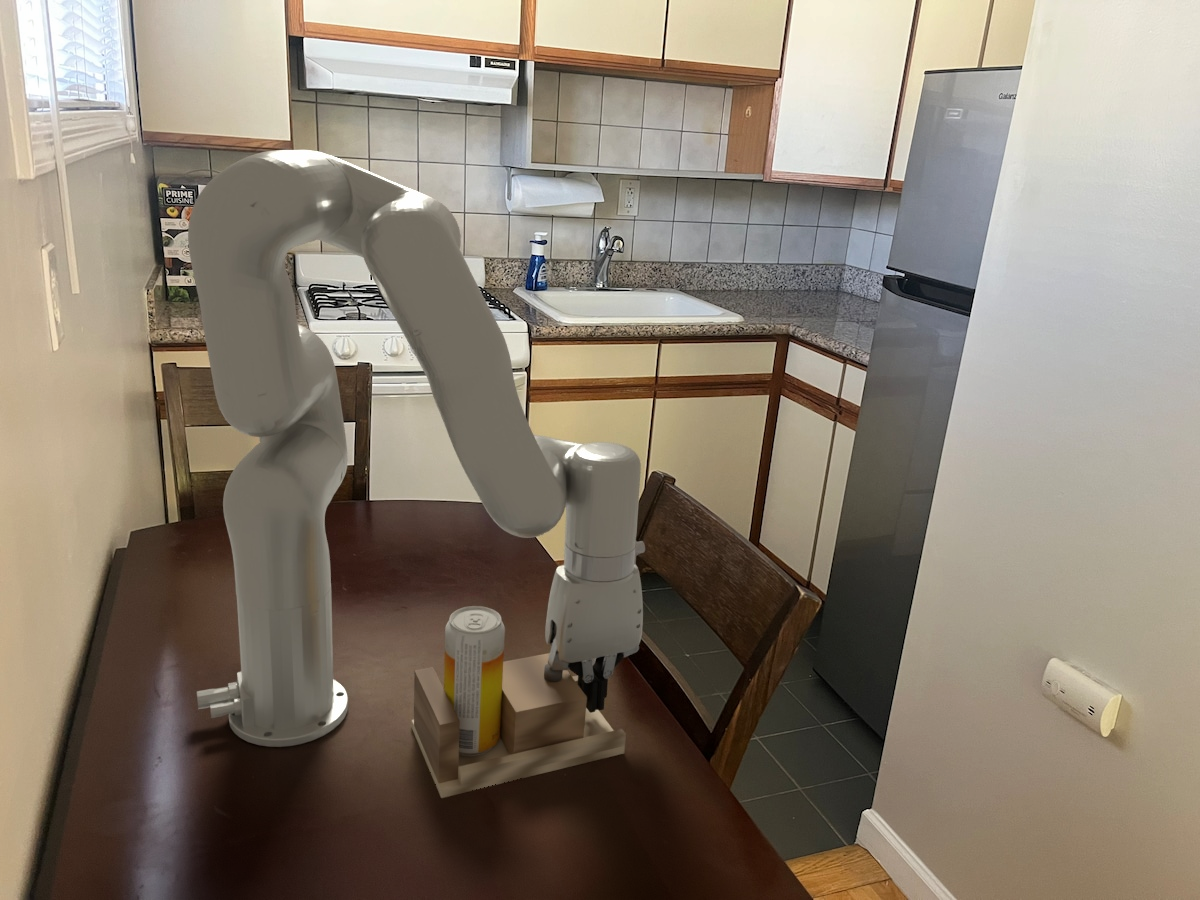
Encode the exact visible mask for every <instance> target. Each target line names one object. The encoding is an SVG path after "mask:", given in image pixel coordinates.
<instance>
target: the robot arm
mask: <svg viewBox="0 0 1200 900" xmlns="http://www.w3.org/2000/svg"><path fill="white" fill-rule="evenodd" d="M187 232H188V233H187V239H188V240H187V242H188V252H189V257H190V259H189V260H190V264H191V269H192V272H193V278H194V283H195V287H196V293H197V296H198V302H199V306H200V307H199V308H200V315H201V323H202V329H203V334H204V339H205V344H206V349H207V355H208V356H207V357H208V361H209V366H210V373H211V378H212V382H213V383H212V384H213V388H214V395H215V398H216V402H217V405H218V409H219V411H220V413H221V414H222V416H223V417H224V420H225V421H226V422H227V423H228V424H229V425H230V426H231V427H232V428H233V429H235V430H237V432H239V433H241V434H243V435H247V436H249V437H253V438H255V437H256V438H258V440H259V443H257V444H256V445H254V446H253V448H251V450H250V451H249V452H248V453H247V454H245V456H244V457H243V458H242V459H241V460H240V461H239V462H238V463H237V465H236V466H235V467H234V469H233V470H232V472H231V474H230V476H229V477H228V480H227V483H226V485H225V489H224V492H223V499H222V500H223V501H222V506H223V509H222V510H223V517H224V521H225V526H226V529H227V534H228V538H229V542H230V546H231V553H232V560H233V569H234V581H235V582H234V583H235V595H236V606H237V624H238V639H239V655H240V656H239V657H240V671H238V672H237V673H236V675H237V681H234V682H229V683H227V686H224V687H218V688H209V689H203V690H196V697H197V698H196V699H197V708H198V709H197V710H202V709H203V710H204V709H207V708H210V718H211V719H215V718H218V717H224V716H225V715H226V716H228V722H229V727H230V729H231V730H232V732H233V733H234V734H235V735H236V736H237V737H238V738H240V739H242V740H244V741H246V742H247V743H251V744H254V745H257V746H263V747H269V748H270V747H271V748H273V747H274V748H275V747H276V748H282V747H293V746H298V745H302V744H306V743H309V742H312V741H314V740H317V739H320V738H321V737H323V736H325V735H327V734H328V733H330V732H331V731H333V730H334V729H335V728H337V726H339V725H340V724H341V723H342V722H343V720H344V719H345V718H346V715H347V713H348V710H349V696H348V693H347V690H346V688H345V687H344V686H343V685H342V684H341V683H340V682H338V681H337V680H336V679H334V656H333V655H334V654H333V651H334V648H333V612H332V611H333V610H332V609H333V608H332V605H333V604H332V603H333V602H332V583H331V582H332V581H331V577H332V575H331V572H332V571H331V560H330V559H331V557H330V549H329V543H328V540H327V539H328V538H327V534H326V525H325V524H326V523H325V522H326V521H325V517H326V511H327V508H328V506H329V505H330V503H331V501H332V500H333V497H334V495H335V494H336V492H337V491H338V489H339V487H340V486H341V485H342V483H343V480H344V478H345V475H346V474H347V469H348V461H349V460H348V459H349V457H348V456H349V455H348V453H349V452H348V443H347V437H346V436H347V435H346V430H345V423H344V416H343V409H342V408H343V407H342V401H341V393H340V387H339V382H338V374H337V370H336V366H335V362H334V359H333V355H332V354H331V352H330V350H329V348H328V346H327V345H326V343H325V342H324V341H323V340H322V338H320V337H319V335H317V334H316V333H315V332H314V331H312V330H311V329H308V328H307V327H305V326H303V325H301V324H299V322H298V317H297V309H296V299H295V294H294V288H293V287H292V282H291V280H290V276H289V275H288V272H287V269H286V258H287V257H286V256H287V254H288V253H289V252H290V251H291V250H292V249H294V248H296V247H299V246H301V245H306V244H307V243H311V242H315V241H321V242H322V243H326V244H329V245H331V246H333V247H336V248H338V249H341V250H344V251H346V252H348V253H351V254H353V255H356V256H358V257H360V258H363V260H364V263H365V265H366V267H367V269H368V272H369V274H370V276H371V278H372V279H373V281H374V283H375V285H376V286H377V288H378V291H379V292H380V294H381V296H382V298H383V299H384V302H385V303H386V305H387V306H388V308H389V310H390V312H391V313H392V316H393V317H394V319H395V321H396V323H397V324H398V327H399V328H400V330H401V332H402V334H403V335H404V337H405V339H406V342H408V343H407V344H409V345H408V346H409V347H410V349H411V350H412V352H413V354H414V356H415V357H416V360H417V361H418V363H419V365H420V367H421V369H422V370H423V373H424V374H425V376H426V378H427V381H428V384H429V387H430V390H431V393H432V398H433V399H434V402H435V405H436V407H437V409H438V411H439V413H440V417H441V419H442V422H443V424H444V427H445V429H446V433H447V434H448V437H449V440H450V442H451V444H452V445H451V446H452V448H453V450H454V452H455V455H456V457H457V459H458V460H459V462H460V463H459V464H460V465H461V467H462V469H463V471H464V473H465V474H466V477H467V478H468V480H469V482H470V483H471V486H472V487H473V490H474V491H475V493H476V494H477V496H478V498H479V500H480V501H481V504H482V505H483V506H484V509H485V510H486V512H487V513H488V515H489V516H490V518H491V519H492V520H493V522H494V523H495V524H496V525H497V526H498V527H499V528H500V529H502V530H503V531H505V532H506V533H508V534H509V535H511V536H512V535H513V536H515V537H517V538H524V539H525V538H527V539H528V538H529V539H530V538H537V537H540V536H543V535H545V534H547V533H549V532H550V531H551V530H552V529H553V528H555V527H556V526H557V524H558V523H559V522H560V521H561V519H562V517H563V515H564V512H565V527H564V528H565V529H564V530H565V531H564V549H563V551H564V554H563V556H564V558H563V564H561V565H559V566H557V567H556V570H555V572H554V575H553V578H552V583H551V587H550V593H549V595H548V597H549V598H548V603H547V612H546V620H545V629H544V630H545V632H544V634H545V635H544V637H545V642H546V643H545V644H547V646H549V647H550V652H549V653H550V654H549V658H548V664H549V665H550V667H551V668H552V669H553V670H567V671H571V672H572V673H573V674H575V676H577V675H578V686H579V687H580V688H581V690H582V691H583V692H584V694H585V695H586V697H587V703H586V708H587V709H588V711H589V712H590V713H592V712H595V710H599V711H600V712H601V711H604V710H605V699H607V696H608V681H609V680H608V679H610V678H611V677H612V676H613V674H614V669H615V668H616V667H617V666H618V665H619V663H620V662H621V661H622V660H623V658H626V657H629V656H630V655H633V654H636V653H637V652H638V651H639V650H640V646H639V645H640V643H641V641H642V635H643V626H644V623H643V622H644V621H643V620H644V608H643V607H644V604H643V592H642V591H643V590H642V582H641V577H640V576H641V575H640V571H639V567H638V566H637V564H636V561H637V556H639V555H640V554H644V553H645V551H646V544H645V542H644V541H643V540H640V541H637V533H638V532H637V529H638V515H639V502H640V501H639V500H640V488H641V486H640V485H641V473H642V471H641V469H642V468H641V465H642V464H641V460H640V456H639V455H638V454H637V452H636V451H635V450H634V449H632V448H631V447H628V446H627V445H624V444H621V443H615V442H610V441H599V442H598V441H597V442H594V441H593V442H589V443H588V442H587V443H581V442H575V441H571V440H566V439H565V440H564V439H560V438H556V437H551V436H545V435H538V434H537V435H536V434H534V433H533V430H532V428H531V426H530V424H529V421H528V419H527V417H526V414H525V412H524V409H523V406H522V404H521V399H520V398H519V394H518V390H517V387H516V382H515V378H514V372H513V366H512V361H511V355H510V351H509V347H508V344H507V341H506V339H505V337H504V334H503V332H502V330H501V328H500V326H499V324H498V322H497V320H496V318H495V316H494V315H493V312H492V311H491V308H490V307H489V305H488V303H487V301H486V299H485V297H484V295H483V293H482V292H481V290H480V287H479V285H478V283H477V281H476V279H475V278H474V276H473V274H472V272H471V270H470V267H469V265H468V264H467V261H466V259H465V258H464V255H463V254H462V251H461V244H462V243H461V237H462V236H461V231H460V227H459V223H458V221H457V219H456V218H455V216H454V215H453V213H452V212H451V210H450V209H449V208H448V207H447V206H446V205H444V204H443V203H442V202H441V201H440V200H437V199H435V198H433V197H431V196H429V195H427V194H424V193H422V192H419V191H418V190H415V189H412V188H409V187H406V186H404V185H402V184H399V183H397V182H395V181H392V180H389V179H387V178H385V177H382V176H380V175H379V174H375V173H373V172H371V171H369V170H366V169H365V168H364V169H363V168H361V167H359V166H357V165H354V164H353V163H350V162H347V161H345V160H342V159H340V158H338V157H336V156H333V155H330V154H327V153H324V152H321V151H317V150H310V149H277V150H267V151H261V152H258V153H254V154H252V155H249V156H246V157H244V158H241V159H239V160H238V161H236V162H234V163H232V164H230V165H228V166H227V167H226V168H224V169H223V170H222V171H220V172H218V174H216V175H215V176H214V177H213V178H212V179H210V181H209V182H208V183H206V185H205V186H204V187H203V188H202V190H201V192H200V193H199V195H198V196H197V198H196V199H195V202H194V204H193V207H192V210H191V213H190V216H189V222H188V229H187Z"/></svg>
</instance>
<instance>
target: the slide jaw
mask: <svg viewBox="0 0 1200 900" xmlns="http://www.w3.org/2000/svg"><path fill="white" fill-rule="evenodd" d="M549 654H550V652H548V653H544V654H543V653H542V654H538V655H531V656H527V657H521V658H514V659H510V660H506V661H505V660H503V680H502V701H501V722H500V738H501V739H502V741H503V743H504V745H505V747H506V748H507V750H508V752H509V754H510V755H511V754H515V753H520V752H524V751H528V750H533V749H537V748H541V747H546V746H550V745H554V744H559V743H563V742H567V741H572V740H576V739H580V738H584V726H585V715H586V703H587V697H586V695H585V694H584V692H583V691H582V690H581V688H580V687H579V686H578V684H577V683H576V682H575V680H574V679H573V678H572V676H573V675H571V674H570V672H569V670H553V669H552V668H551V667H550V665H549V664H548V658H549Z"/></svg>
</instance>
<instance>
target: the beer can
mask: <svg viewBox="0 0 1200 900" xmlns="http://www.w3.org/2000/svg"><path fill="white" fill-rule="evenodd" d="M444 629H445V630H444V664H443V667H444V668H443V671H444V672H443V688H444V690H445V692H446V694H447V696H448V698H449V700H450V702H451V704H452V706H453V708H454V710H455V712H456V714H457V716H458V718H459V720H460V729H459V755H462V756H470V757H471V756H479V755H482V754H485V753H487V752H488V751H489V750H491V749H492V747H493V746H494V745H495V744H496V743H497V742H498V740H499V738H500V722H501V701H502V680H503V662H504V656H505V655H504V654H505V637H506V636H505V635H506V634H505V633H506V627H505V625H504V622H503V621H502V616H501V614H500V613H499V612H498V611H496V610H495V609H493V608H490V607H486V606H482V605H472V606H464V607H461V608H458V609H456V610H455V611H453V612H452V613H451V614H450V615H449V619H448V621H447V623H446V625H445V628H444Z"/></svg>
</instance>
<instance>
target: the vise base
mask: <svg viewBox="0 0 1200 900" xmlns="http://www.w3.org/2000/svg"><path fill="white" fill-rule="evenodd" d="M413 672H414V675H413V676H414V682H413V683H414V684H413V686H414V687H413V690H414V691H413V693H414V695H413V719H411V729H412V731H413V734H414V736H415V739H416V742H417V744H418V746H419V749H420V751H421V753H422V756H423V758H424V760H425V763H426V766H427V768H428V769H429V770H428V771H429V773H430V772H431V773H430V775H431V777H432V779H433V782H434V784H436V785H435V787H436V789H437V791H438V794H439V796H440V798H441V799H444V798H448V797H451V796H452V797H453V796H456V795H461V794H464V793H467V792H468V793H469V792H472V790H473V791H476V789H477V790H480V788H481V789H485V788H487V787H488V786H489V787H493V786H497V785H501V784H504V782H505V783H508V781H509V782H514V781H517V779H518V780H521V779H520V778H522V779H525V778H530V777H534V776H537V775H541V774H545V773H550V772H553V771H554V772H555V771H558V770H562V769H566V768H571V767H573V766H578V765H582V764H587V763H590V762H594V761H595V762H596V761H599V760H604V759H607V758H610V757H611V758H612V757H615V756H618V755H619V756H620V755H624V754H625V749H626V739H627V733H626V732H625V731H624V730H623V728H620V729H616V730H614V729H613V728H612V726H611V725H610V724H609V722H608V721H607V720H606V718H605V717H604V715H603V714H602V713H601V710H600V711H599V710H595V712H592V713H590V712H589V711H588V709H587V708H586V715H585V726H584V738H580V739H576V740H572V741H567V742H563V743H559V744H554V745H550V746H546V747H541V748H537V749H533V750H528V751H524V752H520V753H515V754H511V755H510V754H509V752H508V750H507V748H506V747H505V745H504V743H503V741H502V739H501V738H499V740H498V742H497V743H496V744H495V745H494V746H493V747H492V749H491V750H489V751H488V752H487V753H485V754H482V755H479V756H471V757H470V756H462V755H459V729H460V720H459V718H458V716H457V714H456V712H455V710H454V708H453V706H452V704H451V702H450V700H449V698H448V696H447V694H446V692H445V690H444V685H443V684H442V682H441V681H440V678H439V677H438V674H437V672H436V670H435V669H434V667H433V666H430V667H424V668H419V669H414V670H413ZM571 676H572V678H573V679H574V680H575V682H576V683H577V684H578V675H574V676H573V675H571ZM513 780H514V781H513ZM495 784H496V785H495ZM492 785H493V786H492ZM484 787H485V788H484ZM489 787H488V788H489Z"/></svg>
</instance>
